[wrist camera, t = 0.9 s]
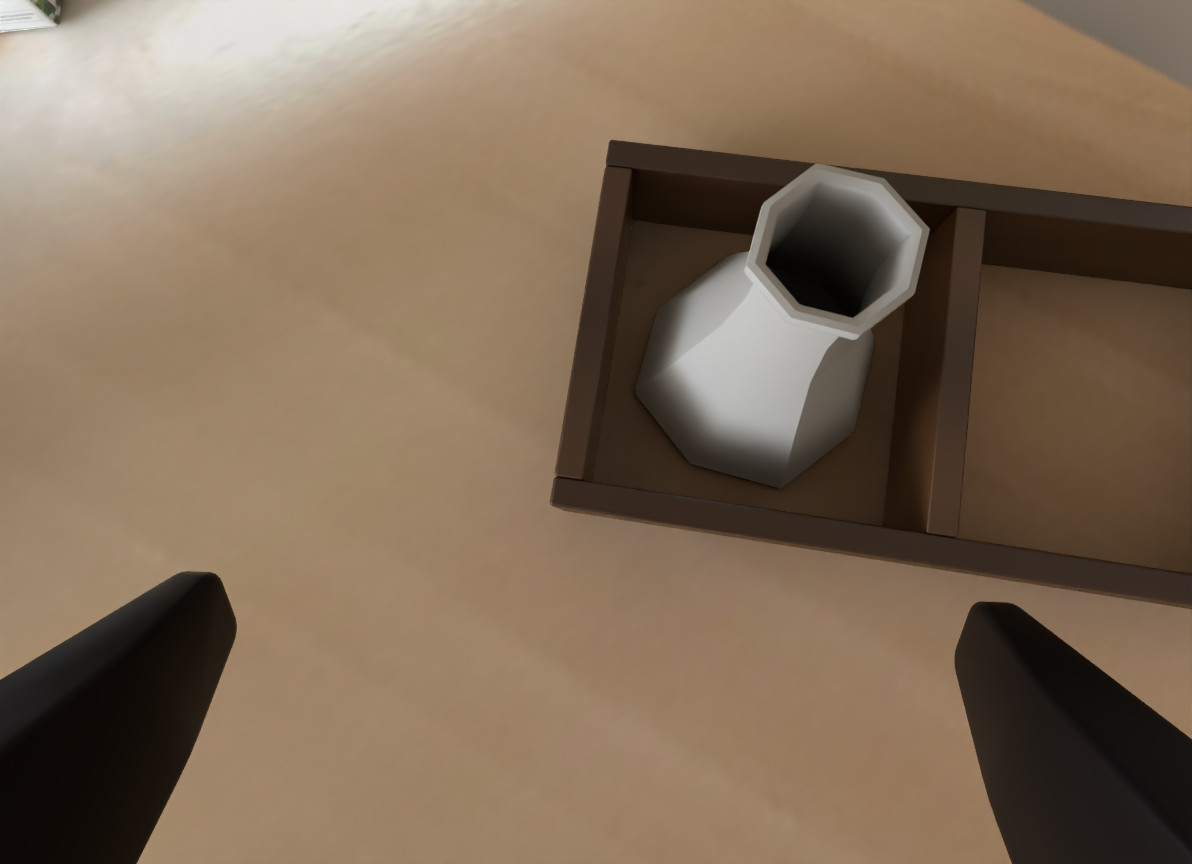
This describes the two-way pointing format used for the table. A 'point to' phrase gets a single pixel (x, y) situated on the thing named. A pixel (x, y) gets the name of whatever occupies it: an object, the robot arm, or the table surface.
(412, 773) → the table surface
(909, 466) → the walnut divided tray
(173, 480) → the table surface
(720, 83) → the table surface
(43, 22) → the syrup box
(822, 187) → the flask
